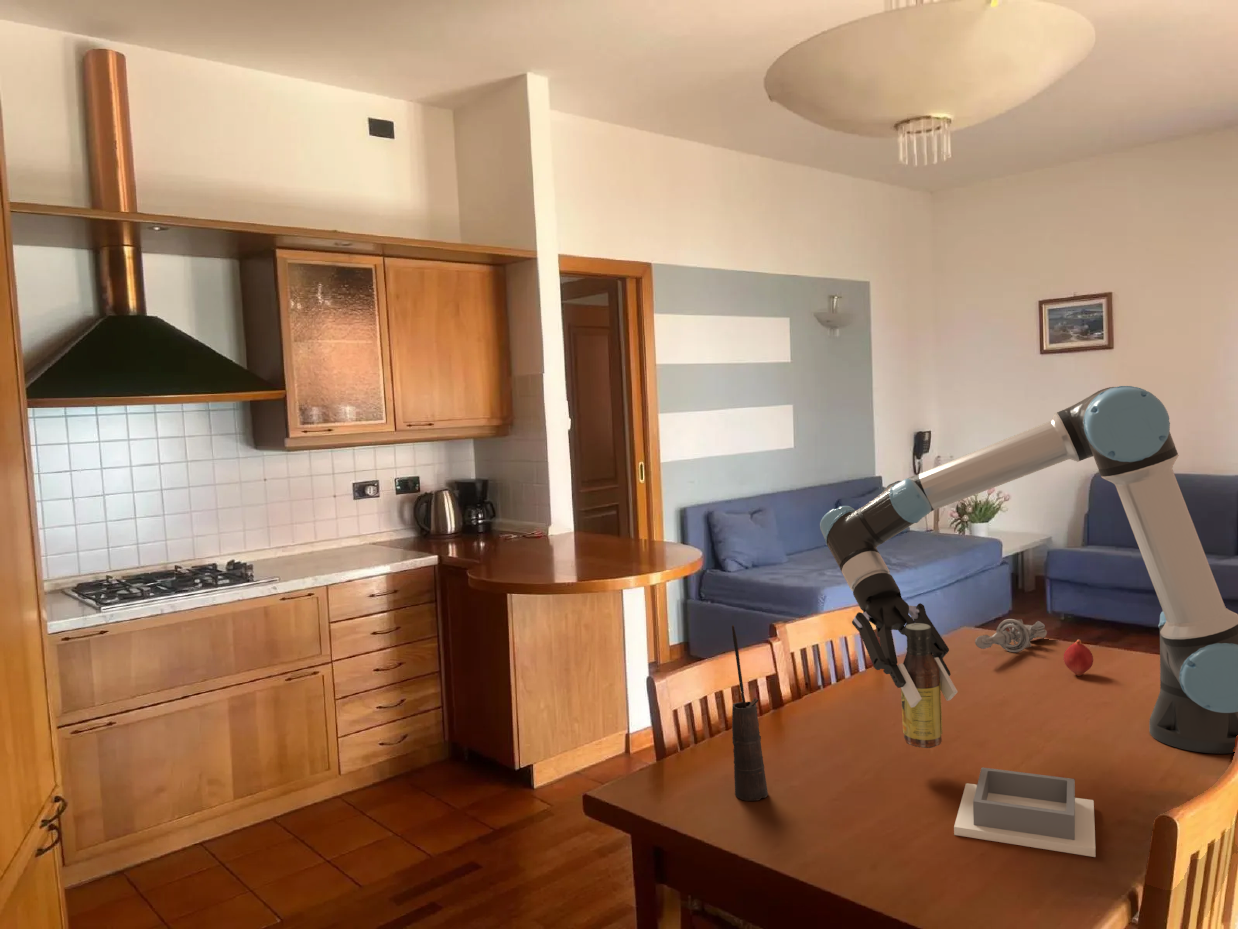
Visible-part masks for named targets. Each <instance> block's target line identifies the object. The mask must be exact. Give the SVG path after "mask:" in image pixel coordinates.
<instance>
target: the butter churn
mask: <svg viewBox="0 0 1238 929" xmlns="http://www.w3.org/2000/svg"><path fill="white" fill-rule="evenodd" d="M731 631H732V633H731V634H732V639H733V640H732V642H733V647H734V653H735V660H736V668H737V675H738V684H739V690H740V696H741V701H739V702H736V703H734V702H733V703H732V708H731V709H732V712H731V714H732V715H731V716H732V718H731V720H732V722H731V723H732V724H731V729H732V739H731V740H732V744H733V749H732V752H733V770H734V772H733V774H734V795H735V797H736V798H738V799H740V800H741V801H746V802H748V801H749V802H750V801H760V800H761V799H763V798H766V797H767V796H768V795H769V791H768V784H767V779H766V772H765V765H764V759H763V758H764V756H763V751H762V742H761V739H762V736H761V735H760V733H761V732H760V724H759V718H758V708H757V703H758V701H759V698H752V700H751V701H746V697H745V689H744V683H743V674H742V669H741V663H740V660H741V659H740V653H739V646H738V638H737V634H736V630H735V625H734V624H732V625H731Z"/></svg>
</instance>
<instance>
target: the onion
mask: <svg viewBox="0 0 1238 929" xmlns="http://www.w3.org/2000/svg"><path fill="white" fill-rule="evenodd" d="M1063 663H1064V665H1065V666H1066V668H1067V669H1068V670H1070V671H1071V672H1072V673H1074V674H1075V675H1076V676H1078V677H1080V676H1083V675H1084V674H1085V673H1086V672H1088V671H1089V670H1090V669H1091V668H1092V667H1093V663H1094V656H1093V653H1092V651H1091V649H1089V648H1088V647H1087V646H1086V645H1084V644H1083V643H1082V640H1081V639H1077V640H1076V641H1075V642H1073V643H1071V644H1070V645H1068V647H1067V648H1066V650H1065V651H1064V653H1063Z"/></svg>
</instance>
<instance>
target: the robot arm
mask: <svg viewBox="0 0 1238 929" xmlns="http://www.w3.org/2000/svg"><path fill="white" fill-rule="evenodd" d="M1170 428H1171V421H1170V416H1169V413H1168V411H1167V409H1166V407H1165V405H1164V404H1163V402H1162V401H1161V400H1160V399H1159V398H1158V397H1157V396H1156V395H1154V394H1153V393H1152V392H1150V391H1147V390H1146V389H1144V388H1141V387H1138V386H1132V385H1119V386H1109V387H1105V388H1101V389H1100V390H1097V391H1096V392H1094V393H1092V394H1090V395H1089V396H1088V397H1086V398H1084V399H1082V400H1081V401H1078V402H1076V403H1075V404H1072V405H1071V406H1069V407H1067V408H1065V409H1062V410H1060V411H1057V412H1055V413H1054V415H1053V416H1052V419H1051V420H1050V421H1047V422H1045V423H1042V424H1040V425H1038V426H1035V427H1032V428H1029V429H1028V430H1024V431H1022V432H1019V433H1017V434H1014V435H1013V436H1010V437H1008V438H1004V439H1003V440H1000V441H997V442H995V443H992V444H990V445H987V446H985V447H982V448H980V449H977V450H974V451H972V452H970V453H968V454H965V455H962V456H960V457H957V458H955V459H953V460H949V461H947V462H945V463H943V464H940V465H937V466H935V467H932V468H930V469H927V470H925V471H922V472H920V473H919V474H916V475H912V476H910V477H908V478H907V477H906V478H905V479H903V480H896V481H894V482H891V483H889V484H888V485H887V486H886V487H885V488H884V489H883V491H882V492H881V493H880V494H879V495H877V496H876V497H875V498H873V499H872V500H870V501H869V502H868V503H866V504H865V505H863V506H862V507H859V508H858V509H854V507H851V506H849V505H840V506H838V507H837V508H832V509H831V510H829V511H828V512H827V513H825V514H824V516H822V518H821V519H820V522H819V528H820V532H821V534H822V536H823V538H824V540H825V541H824V542H825V544H826V546H827V547H828V549H829V552H831V555H832V556H833V558H834V560H835V562H836V564H837V566H838V567H839V570H840V571H841V573H842V575H843V578H844V580H845V581H846V584H847V585H848V587H849V589H850V591H851V592H853V593H852V595H853V597H854V598H855V600H856V602H857V604H858V606H859V608H860V610H861V611H862V612H859V611H858V612H857V613H856V615H855V616H854V618H853V619H852V620H851V624H852V626H853V627H854V628H855V629H856V631H858V633H859V635H860V638H861V639H862V642H863V644H864V648H865V649H866V651H867V654H868V656H869V658H870V661H871V664H872V666H873V668H874V669H875V670H877V671H880V670H883V673H884V674H886V675H889V676H890V678H891V680H892V682H893V683H894V685H895V686H896V687H897V689H898V688H900V690H901V689H902V691H903V693H904V695H905V697H906V699H907V701H908V703H909V705H910V707H915V706H916V705H917V704H918V702H919V701H920V700H921V699H922V698H921V696H920V694H919V692H918V690H917V689H916V687H915V685H914V683H913V681H912V679H911V677H910V675H909V674H908V672H907V670H906V668H905V666H904V664H903V662H902V663H898V658H897V652H896V647H895V643H894V642H895V641H894V637H893V633H892V631H898V632H899V634H901V635H903V636H905V637H906V638H907V636H906V634H905V627H906V625H908V624H914V623H922V624H927V625H929V626H931V636H930V645H931V655H932V656H933V658H934V659H935V661H936V662H937V664H938V667H939V680H940V688H941V694H942V695H943V697H944V699H945V700H946V701H951V700H952V699H953V698H954V697H955V696H956V695H957V693H958V692H959V691H958V690H957V688H956V686H955V684H954V682H953V681H952V679H951V677H950V676H951V671H950V669H949V668H948V666H947V664H946V662H945V660H944V657H945V656H946V655H948V654H949V652H950V648H949V647H948V645H947V644H946V642H945V641H944V639H943V637H942V636H941V634H940V633H939V631H938V630H937V628H936V627H935V625H934V624H933V622H932V620H931V619H930V618H929V616H928V615H927V611H926V607H925V605H924V603H921V602H920V603H917V605H909V604H908V603H907V602H906V601H905V600H904V599H903V597H902V593H901V590H900V587H899V586H898V584H897V582H896V580H895V579H894V576H893V575H891V573H890V569H889V568H888V566H887V564H886V562H885V561H884V558H882V557H883V556H882V555H881V554H880V552H879V551H878V547H879V546H881V545H883V544H884V543H885V542H887V541H888V540H890V539H891V538H893V537H895V536H896V535H898V534H899V533H901V532H903V531H904V530H906V529H908V528H909V527H911V526H913V525H914V524H917V523H919V522H921V520H922V519H923V518H925V517H926V516H927V515H930V513H931V512H934V511H935V510H939V509H941V508H943V507H946V506H949V505H951V504H954V503H957V502H959V501H962V500H965V499H967V498H971V497H972V496H975V495H978V494H980V493H983V492H986V491H988V490H991V489H993V488H996V487H999V486H1001V485H1004V484H1008V483H1010V482H1012V481H1015V480H1018V479H1020V478H1023V477H1025V476H1028V475H1031V474H1034V473H1037V472H1038V471H1042V470H1044V469H1047V468H1049V467H1052V466H1055V465H1057V464H1060V463H1062V462H1066V461H1068V460H1071V461H1074V462H1076V463H1078V462H1081V461H1083V460H1086V459H1089V458H1092V457H1093V458H1094V461H1095V464H1096V467H1097V470H1098V472H1099V475H1100V477H1101V478H1102V479H1103V480H1105V481H1108V482H1110V483H1112V484H1113V485H1114V486H1115V488H1116V492H1117V493H1118V497H1119V499H1120V502H1121V504H1122V507H1123V509H1124V512H1125V515H1126V518H1127V520H1128V522H1129V525H1130V528H1131V531H1132V533H1133V535H1134V539H1135V541H1136V543H1137V546H1138V548H1139V551H1140V554H1141V557H1142V560H1143V563H1144V564H1145V567H1146V570H1147V572H1148V576H1149V578H1150V581H1151V583H1152V586H1153V588H1154V592H1155V594H1156V596H1157V599H1158V601H1159V605H1160V606H1161V610H1162V611H1161V612H1160V615H1159V623H1158V629H1159V679H1160V682H1159V684H1160V685H1159V686H1160V687H1159V688H1160V690H1159V694H1158V696H1157V698H1156V701H1155V705H1154V707H1153V708H1152V709H1153V710H1152V712H1151V715H1150V717H1149V721H1148V722H1149V724H1148V725H1149V734H1150V736H1151V737H1152V738H1154V739H1155V740H1156V741H1158V742H1160V743H1163V744H1165V745H1168V746H1170V747H1174V748H1176V749H1177V748H1178V749H1180V750H1185V751H1189V752H1196V753H1197V752H1198V753H1204V754H1218V755H1219V754H1220V755H1221V754H1223V755H1225V754H1234V753H1233V749H1234V747H1235V739H1236V736H1237V735H1238V613H1236V612H1234V611H1232V610H1230V609H1229V608H1226V606H1225V603H1224V600H1223V598H1222V595H1221V593H1220V590H1219V587H1218V584H1217V582H1216V580H1215V577H1214V575H1213V572H1212V569H1211V566H1210V564H1209V561H1208V558H1207V556H1206V553H1205V550H1204V548H1203V545H1202V542H1201V540H1200V538H1199V535H1198V532H1197V529H1196V527H1195V524H1194V522H1193V518H1192V517H1191V514H1190V512H1189V510H1188V506H1187V504H1186V501H1185V499H1184V496H1183V493H1182V491H1181V489H1180V486H1179V482H1178V481H1177V478H1176V475H1175V473H1174V470H1173V468H1174V464H1175V463H1176V461H1177V459H1178V458H1179V452H1178V450H1177V447H1176V444H1175V442H1174V440H1173V437H1172V435H1171V434H1172V433H1171V432H1170ZM872 625H874V626H875V629H876V633H875V631H874V630H875V629H874V628H873V626H872ZM878 638H879V639H878Z"/></svg>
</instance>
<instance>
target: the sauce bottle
mask: <svg viewBox="0 0 1238 929" xmlns="http://www.w3.org/2000/svg"><path fill="white" fill-rule="evenodd" d="M905 625H906V624H905ZM905 634H906V636H907V637H906V636H905V637H906V653H905V656H904V659H903V662H902V663H903V664H904V666H905V668H906V670H907V672H908V674H909V675H910V677H911V679H912V681H913V683H914V685H915V687H916V689H917V690H918V692H919V694H920V696H921V698H922V699H921V700H920V701H919V702H918V704H917V705H916V706H915V707H910V705H909V703H908V701H907V699H906V697H905V695H904V693H903V691H902V689H901V688H900V695H901V696H900V697H901V699H900V700H901V718H902V719H901V720H902V732H903V736H904V738H903V739H904V741H905V742H906V744H907V745H910V746H913V747H916V748H924V749H930V748H931V749H933V748H935V747H937V746H939V745H942V741H943V739H942V734H943V718H942V717H943V715H942V695H941V694H942V691H941V688H940V680H939V667H938V664H937V662H936V661H935V659H934V658H933V656H932V655H931V645H930V636H931V626H929V625H927V624H922V623H914V624H908V625H906V627H905Z"/></svg>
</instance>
